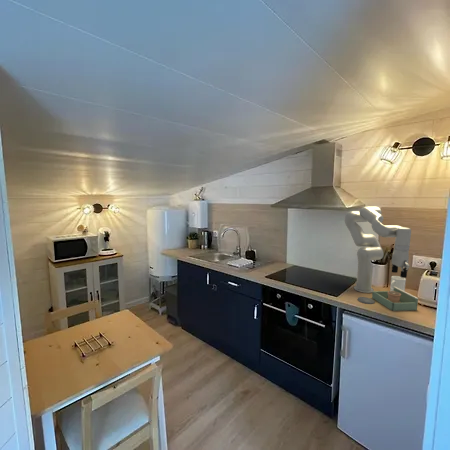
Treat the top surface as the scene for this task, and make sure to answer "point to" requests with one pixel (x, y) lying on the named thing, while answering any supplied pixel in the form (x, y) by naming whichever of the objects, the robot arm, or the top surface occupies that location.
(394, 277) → the mug
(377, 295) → the tray
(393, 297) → the pot
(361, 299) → the slate pad
